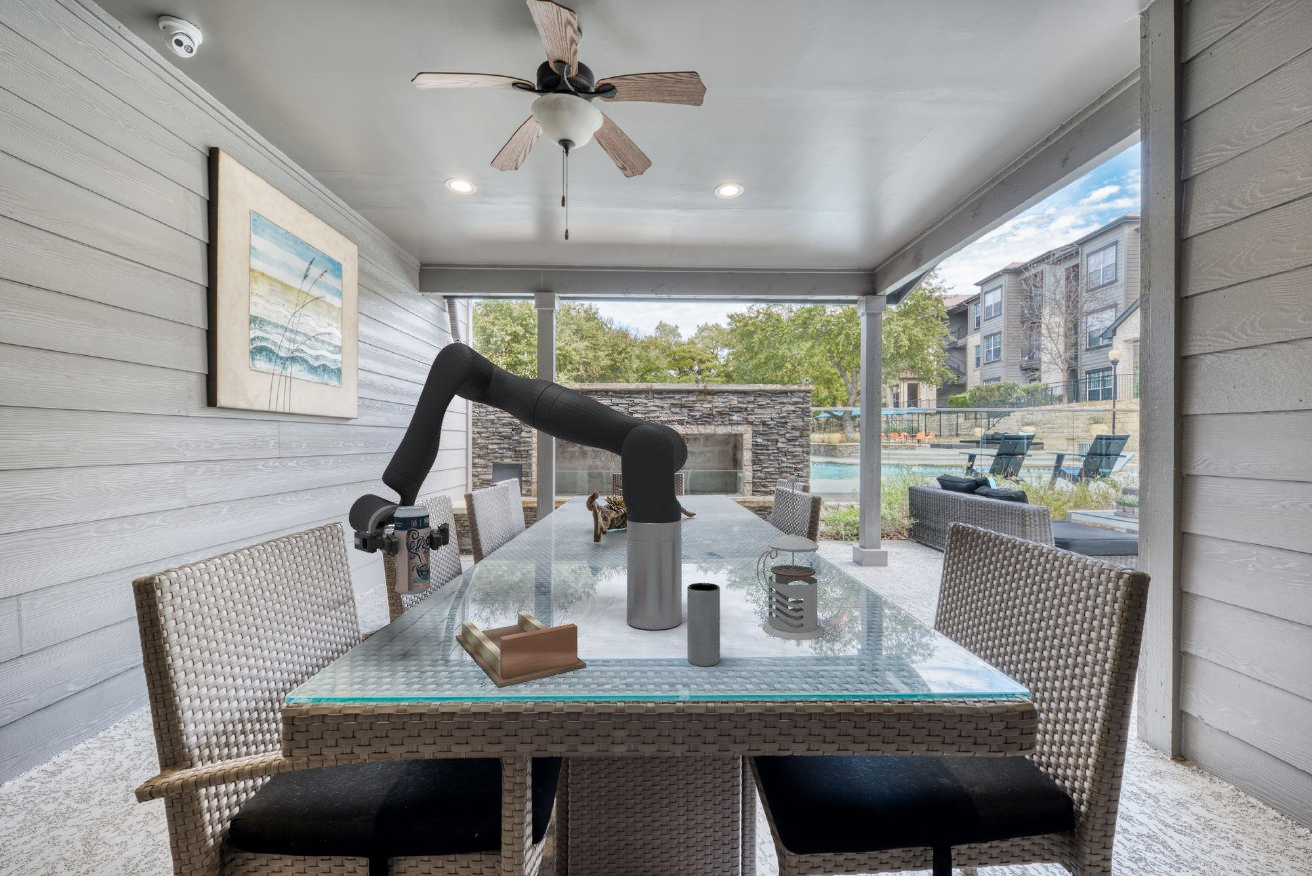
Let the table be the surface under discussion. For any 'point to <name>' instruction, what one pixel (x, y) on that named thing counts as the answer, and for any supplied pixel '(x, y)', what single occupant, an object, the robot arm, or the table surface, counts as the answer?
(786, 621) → the french press
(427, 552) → the beer can
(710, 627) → the gray cylindrical tube
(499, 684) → the keeper track
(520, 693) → the table surface
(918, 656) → the table surface
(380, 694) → the table surface
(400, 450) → the robot arm
